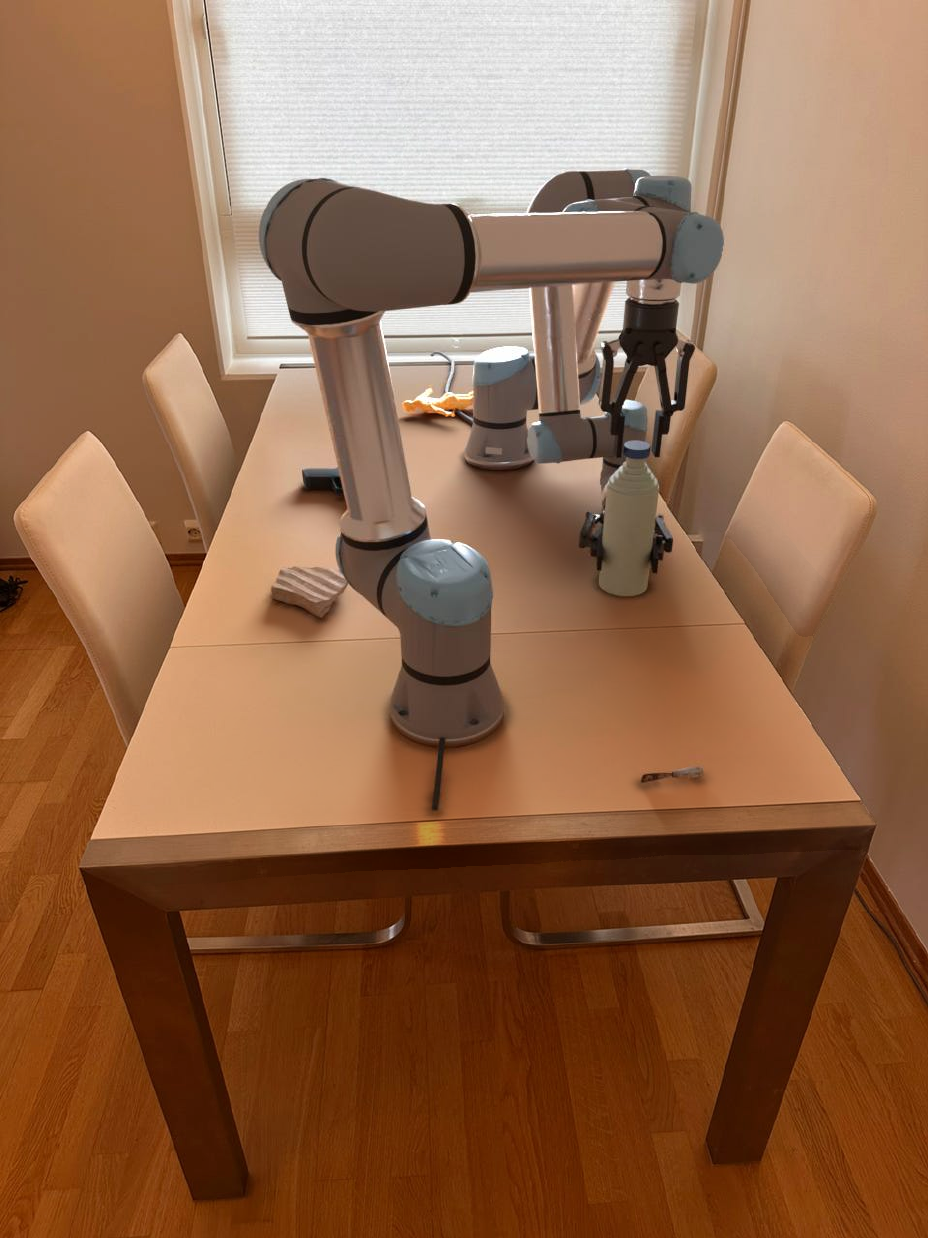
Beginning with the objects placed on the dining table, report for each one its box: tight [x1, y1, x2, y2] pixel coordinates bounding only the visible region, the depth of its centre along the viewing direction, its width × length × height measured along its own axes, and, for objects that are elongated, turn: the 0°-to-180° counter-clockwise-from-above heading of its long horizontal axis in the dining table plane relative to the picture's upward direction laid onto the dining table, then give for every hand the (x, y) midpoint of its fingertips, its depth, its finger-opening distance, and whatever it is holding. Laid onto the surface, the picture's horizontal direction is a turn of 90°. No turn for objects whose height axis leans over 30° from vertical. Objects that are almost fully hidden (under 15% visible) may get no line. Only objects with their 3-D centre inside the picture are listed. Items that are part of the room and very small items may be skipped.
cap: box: [623, 441, 652, 460], centre depth 138 cm, size 4×4×2 cm
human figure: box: [402, 385, 473, 418], centre depth 225 cm, size 20×20×4 cm
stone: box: [270, 565, 349, 619], centre depth 147 cm, size 13×12×2 cm
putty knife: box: [640, 765, 705, 784], centre depth 109 cm, size 1×8×2 cm, turn 103°
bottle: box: [598, 457, 660, 597], centre depth 144 cm, size 8×8×24 cm
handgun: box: [301, 466, 344, 496], centre depth 181 cm, size 3×18×12 cm
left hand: (636, 453), depth 138 cm, fingers open, 5 cm apart
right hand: (627, 564), depth 143 cm, fingers closed on bottle, 8 cm apart
